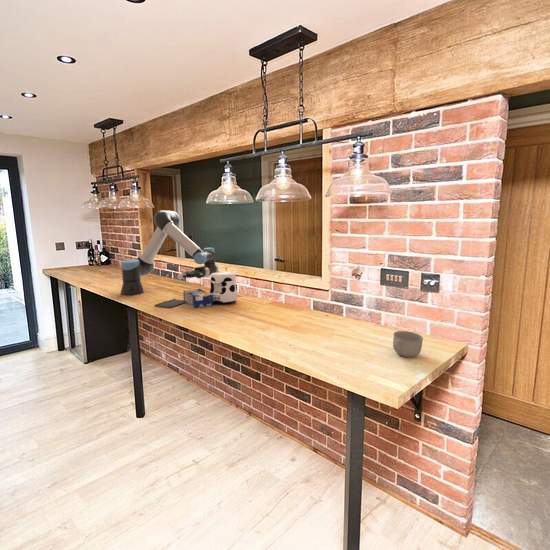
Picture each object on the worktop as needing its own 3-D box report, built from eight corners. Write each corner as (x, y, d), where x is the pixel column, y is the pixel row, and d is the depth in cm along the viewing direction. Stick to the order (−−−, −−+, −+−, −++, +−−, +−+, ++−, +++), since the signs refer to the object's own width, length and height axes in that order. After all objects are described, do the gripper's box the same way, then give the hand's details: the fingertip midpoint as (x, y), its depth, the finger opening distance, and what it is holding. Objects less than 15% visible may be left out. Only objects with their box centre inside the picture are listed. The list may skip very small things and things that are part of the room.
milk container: (233, 298, 240) (233, 271, 237) (240, 304, 224) (239, 275, 221) (207, 300, 234) (206, 272, 232) (212, 306, 218) (211, 276, 215)
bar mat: (154, 306, 219) (154, 304, 219) (174, 300, 235) (174, 298, 235) (170, 308, 214) (170, 306, 214) (189, 301, 230) (189, 300, 230)
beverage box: (183, 290, 232) (195, 296, 213) (199, 288, 238) (212, 294, 219) (183, 301, 233) (195, 308, 215) (200, 298, 239) (212, 305, 220)
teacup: (405, 347, 149) (407, 329, 148) (428, 356, 140) (429, 336, 138) (380, 354, 143) (381, 334, 141) (402, 363, 133) (403, 342, 132)
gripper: (209, 278, 246) (187, 283, 225) (194, 276, 251) (170, 282, 230) (209, 267, 245) (186, 271, 224) (193, 265, 250) (170, 270, 229)
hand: (178, 277), depth 227 cm, fingers closed
